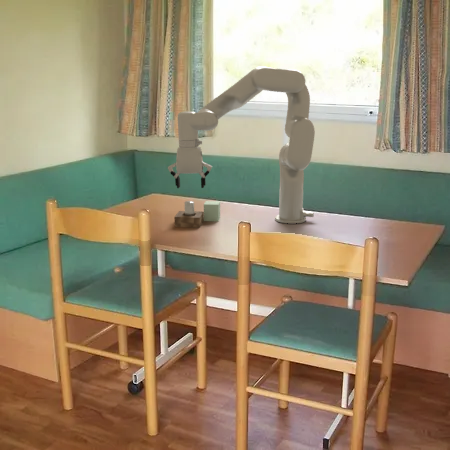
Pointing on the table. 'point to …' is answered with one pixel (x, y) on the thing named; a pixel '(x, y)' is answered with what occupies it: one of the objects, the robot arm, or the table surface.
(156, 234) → the table surface
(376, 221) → the table surface
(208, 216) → the green block
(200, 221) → the socket block
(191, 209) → the metal peg
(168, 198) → the table surface
